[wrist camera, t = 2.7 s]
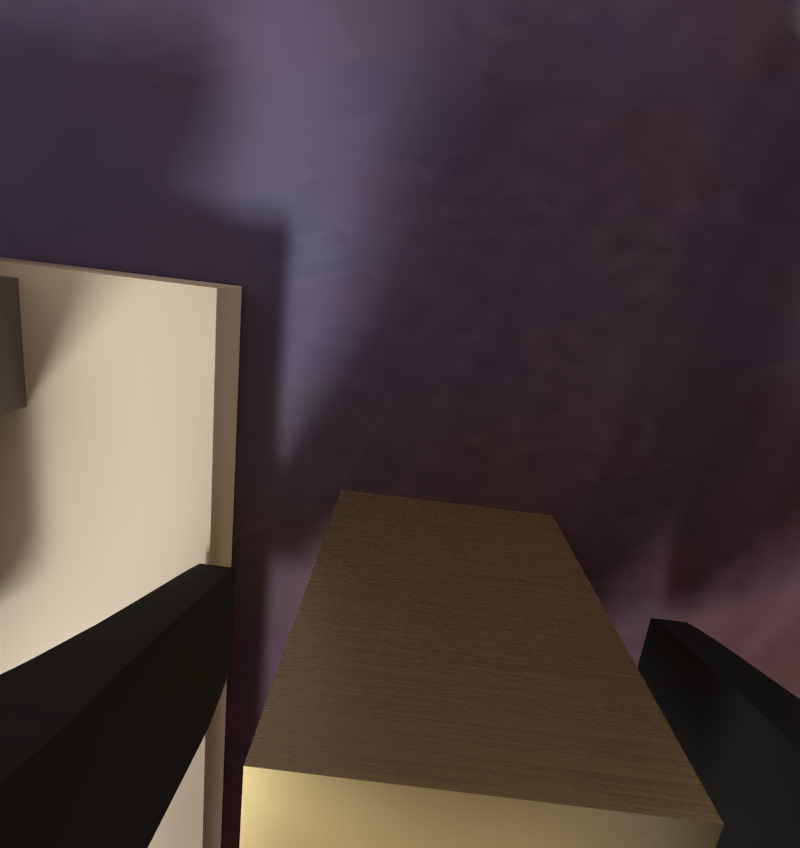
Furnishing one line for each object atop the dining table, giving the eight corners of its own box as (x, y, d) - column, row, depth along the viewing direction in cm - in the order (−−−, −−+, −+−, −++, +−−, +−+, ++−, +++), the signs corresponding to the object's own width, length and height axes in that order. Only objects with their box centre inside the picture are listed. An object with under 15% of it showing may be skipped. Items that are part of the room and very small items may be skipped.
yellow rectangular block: (552, 514, 10) (724, 824, 5) (515, 690, 11) (616, 1121, 6) (341, 489, 10) (243, 766, 5) (324, 667, 11) (227, 1073, 6)
